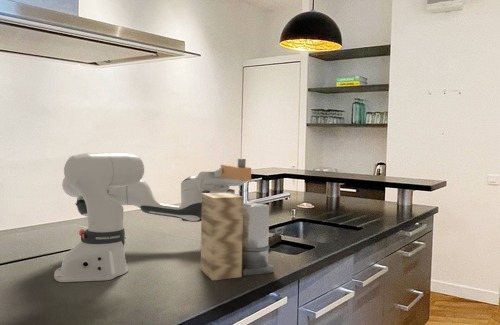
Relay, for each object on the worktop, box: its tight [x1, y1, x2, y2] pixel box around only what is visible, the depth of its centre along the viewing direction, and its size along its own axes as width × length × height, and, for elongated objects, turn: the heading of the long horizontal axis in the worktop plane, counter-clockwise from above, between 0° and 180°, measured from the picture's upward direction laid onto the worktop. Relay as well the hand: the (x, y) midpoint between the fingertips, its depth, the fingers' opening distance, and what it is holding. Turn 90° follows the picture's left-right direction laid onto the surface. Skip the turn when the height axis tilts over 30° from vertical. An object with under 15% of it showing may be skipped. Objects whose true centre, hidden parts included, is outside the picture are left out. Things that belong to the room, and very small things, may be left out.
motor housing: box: [242, 202, 274, 276], centre depth 149 cm, size 11×11×22 cm
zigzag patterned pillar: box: [200, 193, 244, 281], centre depth 144 cm, size 10×12×26 cm
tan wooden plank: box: [220, 158, 252, 182], centre depth 162 cm, size 4×19×8 cm, turn 24°
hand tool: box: [268, 233, 282, 248], centre depth 183 cm, size 19×4×5 cm, turn 155°
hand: (229, 169), depth 168 cm, fingers closed on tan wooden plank, 4 cm apart
